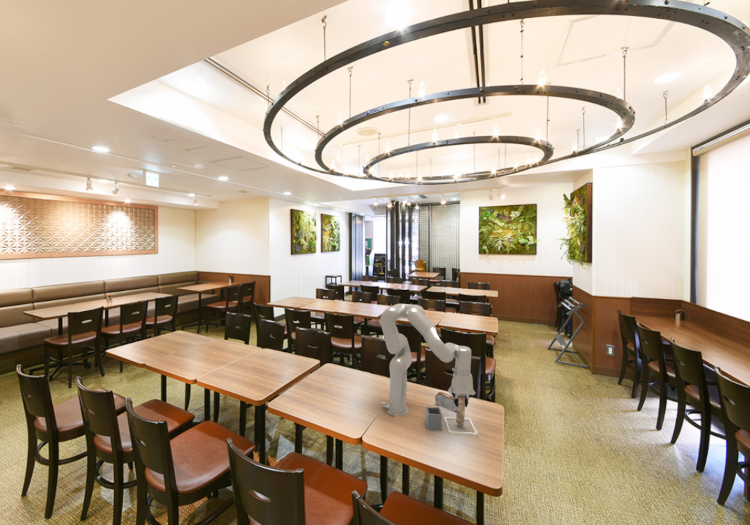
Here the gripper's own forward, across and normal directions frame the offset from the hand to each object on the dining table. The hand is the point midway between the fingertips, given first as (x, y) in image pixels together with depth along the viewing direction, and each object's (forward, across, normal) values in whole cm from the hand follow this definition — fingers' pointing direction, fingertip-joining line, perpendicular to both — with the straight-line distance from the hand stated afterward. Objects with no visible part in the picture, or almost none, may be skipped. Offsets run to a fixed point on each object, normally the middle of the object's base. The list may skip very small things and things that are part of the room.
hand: (460, 405), depth 148 cm
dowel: (+9, 0, 0) cm, 9 cm away
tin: (+13, -3, +18) cm, 22 cm away
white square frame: (+12, 0, 0) cm, 12 cm away
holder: (+12, -14, -1) cm, 19 cm away
